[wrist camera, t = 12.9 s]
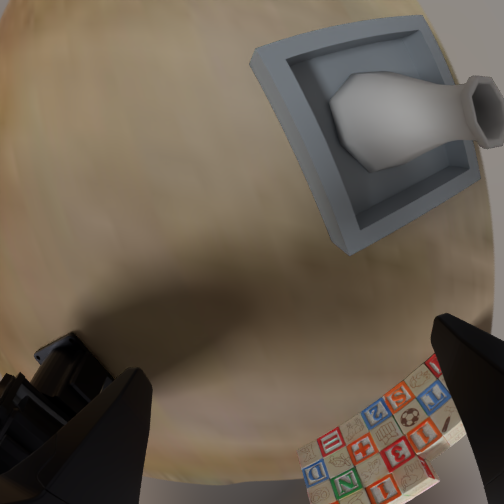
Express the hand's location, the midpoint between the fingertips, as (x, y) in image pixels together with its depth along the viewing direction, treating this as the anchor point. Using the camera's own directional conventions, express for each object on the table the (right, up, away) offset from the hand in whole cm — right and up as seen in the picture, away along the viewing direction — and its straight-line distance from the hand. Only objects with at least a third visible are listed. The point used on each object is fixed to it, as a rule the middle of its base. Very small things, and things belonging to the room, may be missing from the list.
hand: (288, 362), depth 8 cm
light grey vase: (+7, +12, +9) cm, 17 cm away
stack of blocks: (+14, -16, +21) cm, 30 cm away
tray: (+8, +12, +10) cm, 17 cm away
